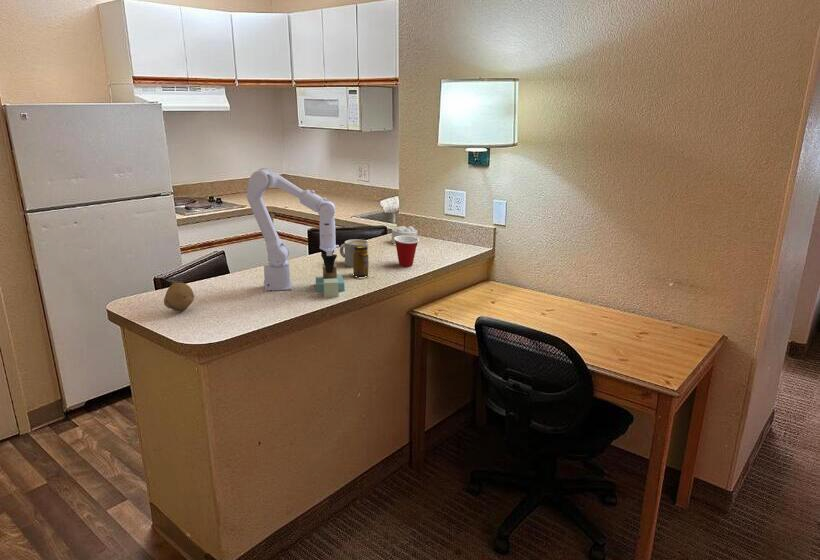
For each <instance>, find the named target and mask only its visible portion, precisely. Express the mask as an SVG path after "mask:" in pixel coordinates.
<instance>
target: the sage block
mask: <svg viewBox="0 0 820 560" xmlns="http://www.w3.org/2000/svg"><path fill="white" fill-rule="evenodd" d="M323 284H324V292H323V295H324V296H325V297H324V296H323V297H324V298H338V297H340V296H339V292H340V291H339V289H338V280H337V278H333V279H323Z"/></svg>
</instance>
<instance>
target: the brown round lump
mask: <svg viewBox="0 0 820 560" xmlns="http://www.w3.org/2000/svg"><path fill="white" fill-rule="evenodd" d="M194 299H195V295H194V291H193V289H192V288H191V286H190V285H188V284H187V283H185V282H174V283H172V284H171V285H170V286H169V287H168V288H167V291H166V292H165V296H164V297H163V303H164V306H165V307H167V308H168V309H171V310H173V311H175V312H178V311H182V312H184V311H185V310H187V309H188V308H189V307H190V306H191V304H192V303H193V302H194Z"/></svg>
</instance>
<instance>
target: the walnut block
mask: <svg viewBox="0 0 820 560" xmlns="http://www.w3.org/2000/svg"><path fill="white" fill-rule="evenodd" d="M337 273H338V272H337V263H335V262H334V266H333V272H332V273H327V272H326V269H325V264H324V263H322V276H323V279H333V278H337V276H338V275H337Z"/></svg>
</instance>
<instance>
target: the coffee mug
mask: <svg viewBox="0 0 820 560" xmlns="http://www.w3.org/2000/svg"><path fill="white" fill-rule="evenodd" d="M357 245H364V246H367V252H368V253H369V241H368V240H366V239H357V238H356V239H354V238H353V239H348V240H345V241H344V243H342V244H341V245H339V253H340V256H341V257H342V258H344V266H345V267H347V268H351V267H352V268H353V254H354V247H355V246H357Z"/></svg>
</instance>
